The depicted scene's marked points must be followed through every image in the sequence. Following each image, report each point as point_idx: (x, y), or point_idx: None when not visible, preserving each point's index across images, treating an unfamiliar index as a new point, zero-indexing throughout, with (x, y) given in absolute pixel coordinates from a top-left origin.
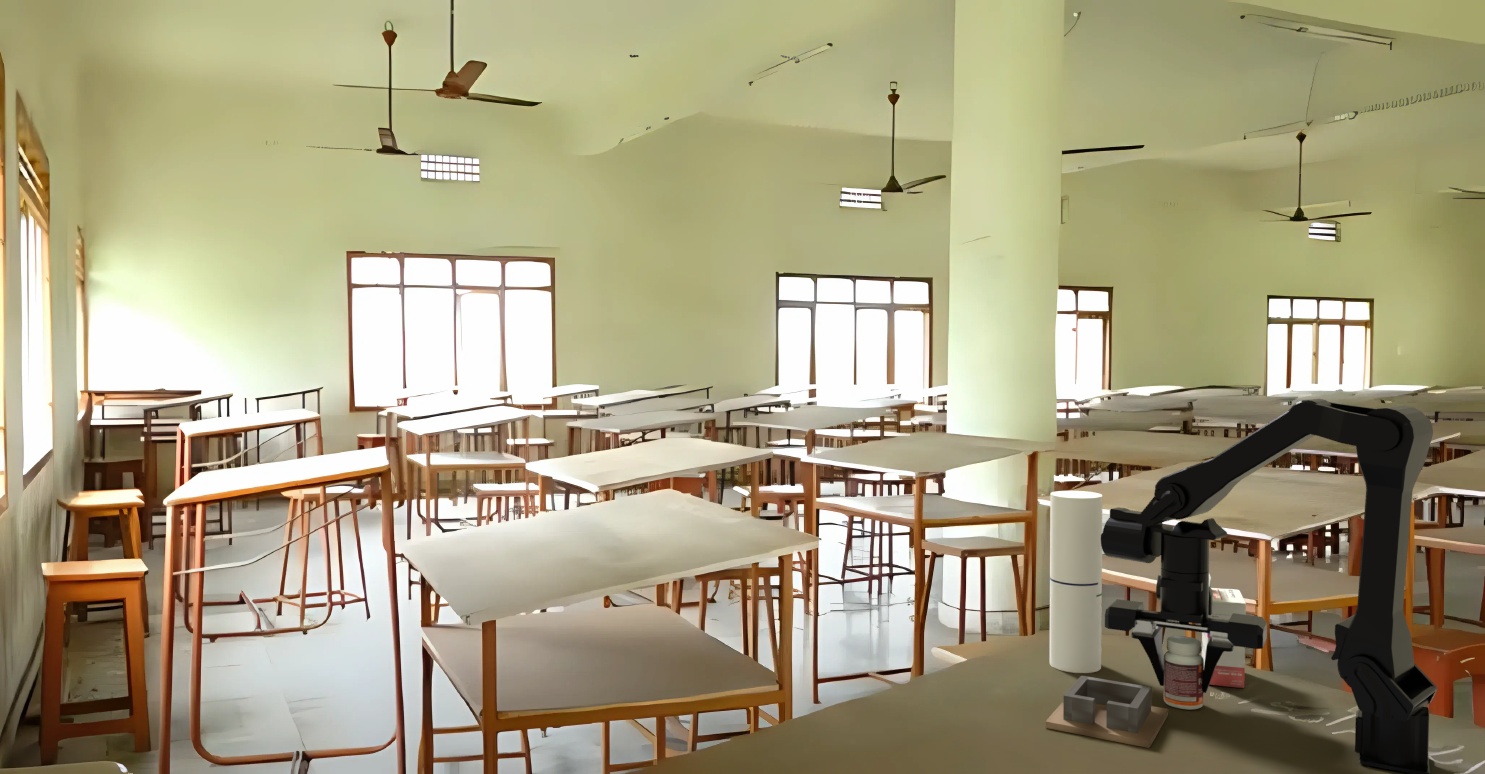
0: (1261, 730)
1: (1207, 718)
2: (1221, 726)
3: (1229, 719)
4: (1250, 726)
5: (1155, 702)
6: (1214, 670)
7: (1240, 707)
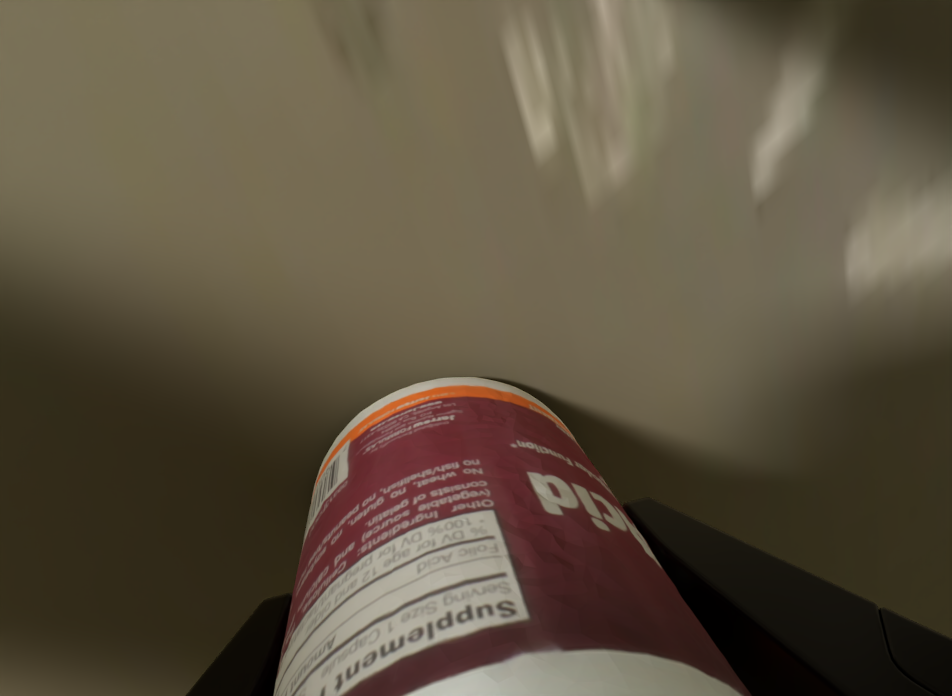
0: (918, 553)
1: None
2: None
3: (755, 526)
4: (865, 542)
5: (288, 583)
6: (819, 580)
7: (782, 270)
